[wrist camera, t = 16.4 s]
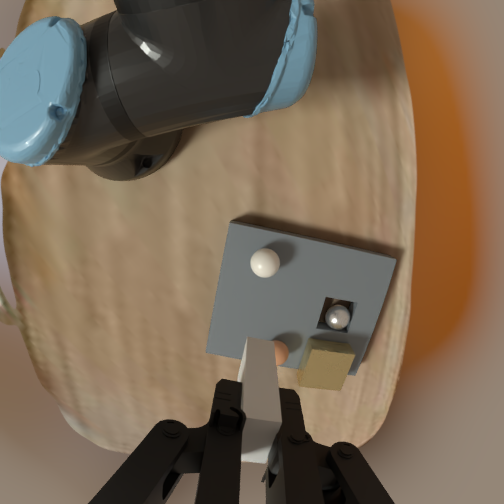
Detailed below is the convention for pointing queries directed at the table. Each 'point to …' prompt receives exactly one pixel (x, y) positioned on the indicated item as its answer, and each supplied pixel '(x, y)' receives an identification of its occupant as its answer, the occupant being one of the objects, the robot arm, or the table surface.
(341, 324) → the steel ball
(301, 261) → the slate plate
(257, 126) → the table surface
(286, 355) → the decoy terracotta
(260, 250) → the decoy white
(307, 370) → the brass cover
